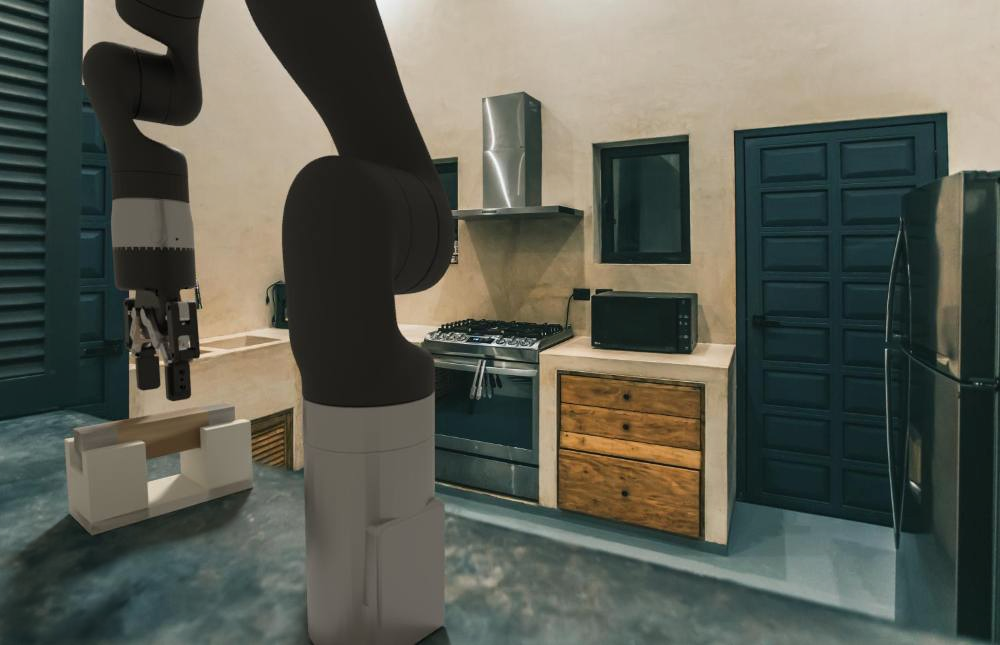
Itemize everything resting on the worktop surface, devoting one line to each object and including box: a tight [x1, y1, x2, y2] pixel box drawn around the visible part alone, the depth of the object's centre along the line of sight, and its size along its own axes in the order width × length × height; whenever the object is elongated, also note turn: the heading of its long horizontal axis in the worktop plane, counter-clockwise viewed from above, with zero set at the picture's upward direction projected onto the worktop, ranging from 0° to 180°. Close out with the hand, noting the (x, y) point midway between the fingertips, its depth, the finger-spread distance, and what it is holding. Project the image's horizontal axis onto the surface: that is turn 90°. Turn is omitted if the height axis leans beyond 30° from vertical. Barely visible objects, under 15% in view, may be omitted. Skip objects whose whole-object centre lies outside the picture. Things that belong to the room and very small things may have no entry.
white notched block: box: [63, 418, 254, 536], centre depth 63 cm, size 8×16×8 cm, turn 140°
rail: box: [72, 401, 236, 472], centre depth 63 cm, size 3×15×4 cm, turn 140°
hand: (163, 394), depth 62 cm, fingers open, 8 cm apart
